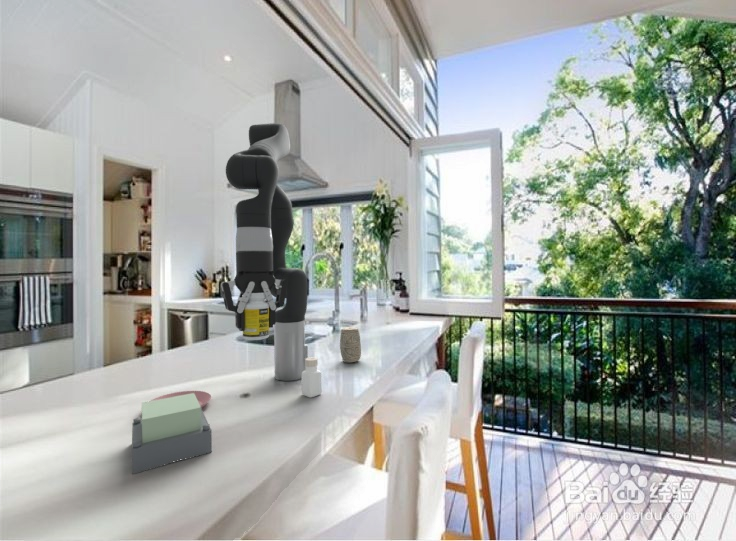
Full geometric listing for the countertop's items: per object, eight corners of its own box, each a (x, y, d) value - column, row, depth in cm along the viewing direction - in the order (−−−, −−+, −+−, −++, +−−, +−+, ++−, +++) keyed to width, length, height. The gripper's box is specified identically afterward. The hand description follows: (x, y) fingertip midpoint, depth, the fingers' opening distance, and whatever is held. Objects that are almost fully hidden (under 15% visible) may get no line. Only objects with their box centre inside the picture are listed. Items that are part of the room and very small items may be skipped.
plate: (167, 398, 91) (167, 390, 91) (221, 398, 90) (221, 390, 90) (127, 422, 76) (127, 413, 76) (191, 422, 76) (191, 413, 76)
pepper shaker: (300, 395, 91) (300, 358, 91) (313, 391, 94) (312, 356, 94) (310, 398, 89) (310, 361, 89) (322, 394, 92) (322, 358, 92)
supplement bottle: (261, 341, 71) (260, 293, 71) (237, 340, 73) (236, 293, 72) (273, 335, 77) (273, 291, 77) (251, 335, 78) (250, 291, 78)
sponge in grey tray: (201, 427, 73) (201, 389, 73) (211, 452, 63) (211, 408, 63) (132, 443, 67) (132, 401, 67) (132, 474, 57) (131, 425, 57)
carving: (339, 359, 126) (339, 326, 126) (360, 358, 127) (360, 326, 127) (340, 364, 120) (339, 329, 120) (361, 363, 121) (361, 329, 121)
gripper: (281, 250, 81) (282, 323, 82) (215, 250, 73) (216, 330, 74) (293, 249, 75) (294, 327, 76) (222, 248, 67) (224, 336, 67)
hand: (256, 328), depth 75 cm, fingers closed on supplement bottle, 5 cm apart
